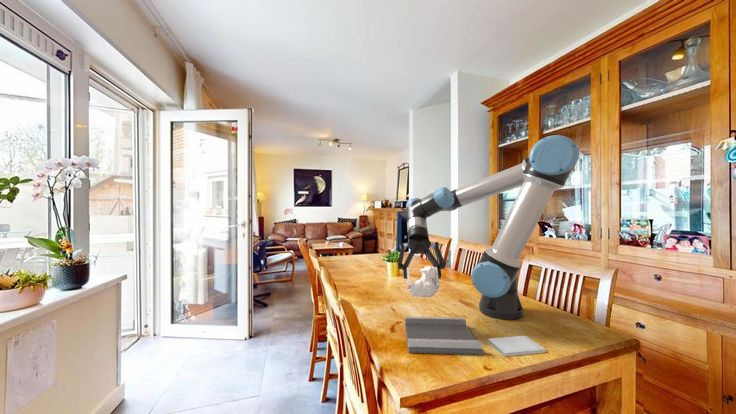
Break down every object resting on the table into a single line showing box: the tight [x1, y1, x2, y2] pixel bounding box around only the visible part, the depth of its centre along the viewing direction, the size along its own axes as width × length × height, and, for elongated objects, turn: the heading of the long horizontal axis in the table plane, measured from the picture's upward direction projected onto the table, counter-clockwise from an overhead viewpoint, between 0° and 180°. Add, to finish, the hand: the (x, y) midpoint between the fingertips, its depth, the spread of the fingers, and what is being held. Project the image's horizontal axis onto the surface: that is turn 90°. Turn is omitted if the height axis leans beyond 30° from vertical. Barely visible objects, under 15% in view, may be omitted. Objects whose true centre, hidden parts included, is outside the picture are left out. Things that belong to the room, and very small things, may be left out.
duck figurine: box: [409, 265, 441, 299], centre depth 89 cm, size 12×8×11 cm
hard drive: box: [486, 335, 546, 357], centre depth 78 cm, size 2×8×12 cm
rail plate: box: [404, 316, 484, 356], centre depth 84 cm, size 20×18×3 cm
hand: (423, 287), depth 86 cm, fingers closed on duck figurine, 8 cm apart
